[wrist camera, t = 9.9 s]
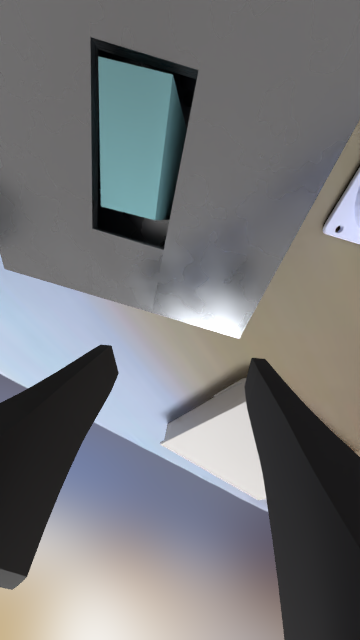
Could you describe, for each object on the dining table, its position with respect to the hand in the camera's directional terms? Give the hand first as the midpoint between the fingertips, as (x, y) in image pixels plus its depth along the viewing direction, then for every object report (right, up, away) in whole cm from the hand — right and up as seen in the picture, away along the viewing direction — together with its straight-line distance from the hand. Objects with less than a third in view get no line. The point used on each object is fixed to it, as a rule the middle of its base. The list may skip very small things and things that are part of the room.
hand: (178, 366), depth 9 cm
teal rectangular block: (-1, +13, +4) cm, 14 cm away
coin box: (-1, +13, +5) cm, 14 cm away
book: (+12, -17, +21) cm, 30 cm away
